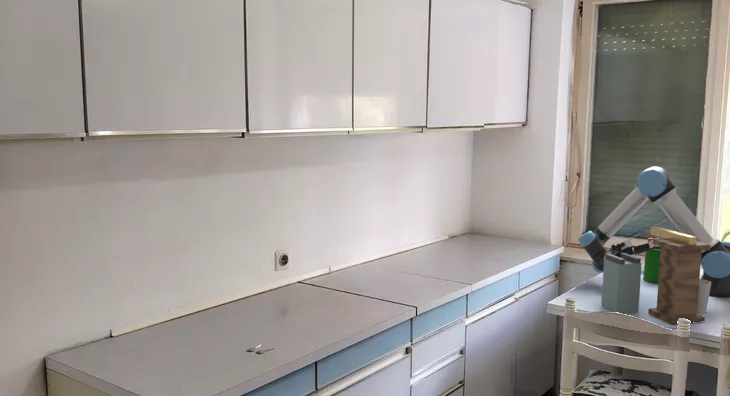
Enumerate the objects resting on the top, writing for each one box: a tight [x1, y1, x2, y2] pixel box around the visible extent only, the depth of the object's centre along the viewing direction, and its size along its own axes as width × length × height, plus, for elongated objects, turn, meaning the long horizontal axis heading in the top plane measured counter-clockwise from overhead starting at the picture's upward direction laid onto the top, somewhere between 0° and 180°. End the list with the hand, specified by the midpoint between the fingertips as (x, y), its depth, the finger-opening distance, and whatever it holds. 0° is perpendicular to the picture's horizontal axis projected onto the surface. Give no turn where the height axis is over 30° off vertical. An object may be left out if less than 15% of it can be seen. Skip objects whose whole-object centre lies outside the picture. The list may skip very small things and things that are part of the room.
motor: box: [642, 237, 661, 284], centre depth 305 cm, size 10×9×20 cm
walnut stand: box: [648, 238, 711, 326], centre depth 249 cm, size 14×14×30 cm
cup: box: [697, 278, 711, 314], centre depth 259 cm, size 8×8×12 cm
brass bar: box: [650, 226, 697, 245], centre depth 251 cm, size 22×3×3 cm, turn 13°
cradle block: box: [600, 253, 643, 314], centre depth 259 cm, size 10×10×22 cm
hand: (644, 240), depth 268 cm, fingers open, 13 cm apart
